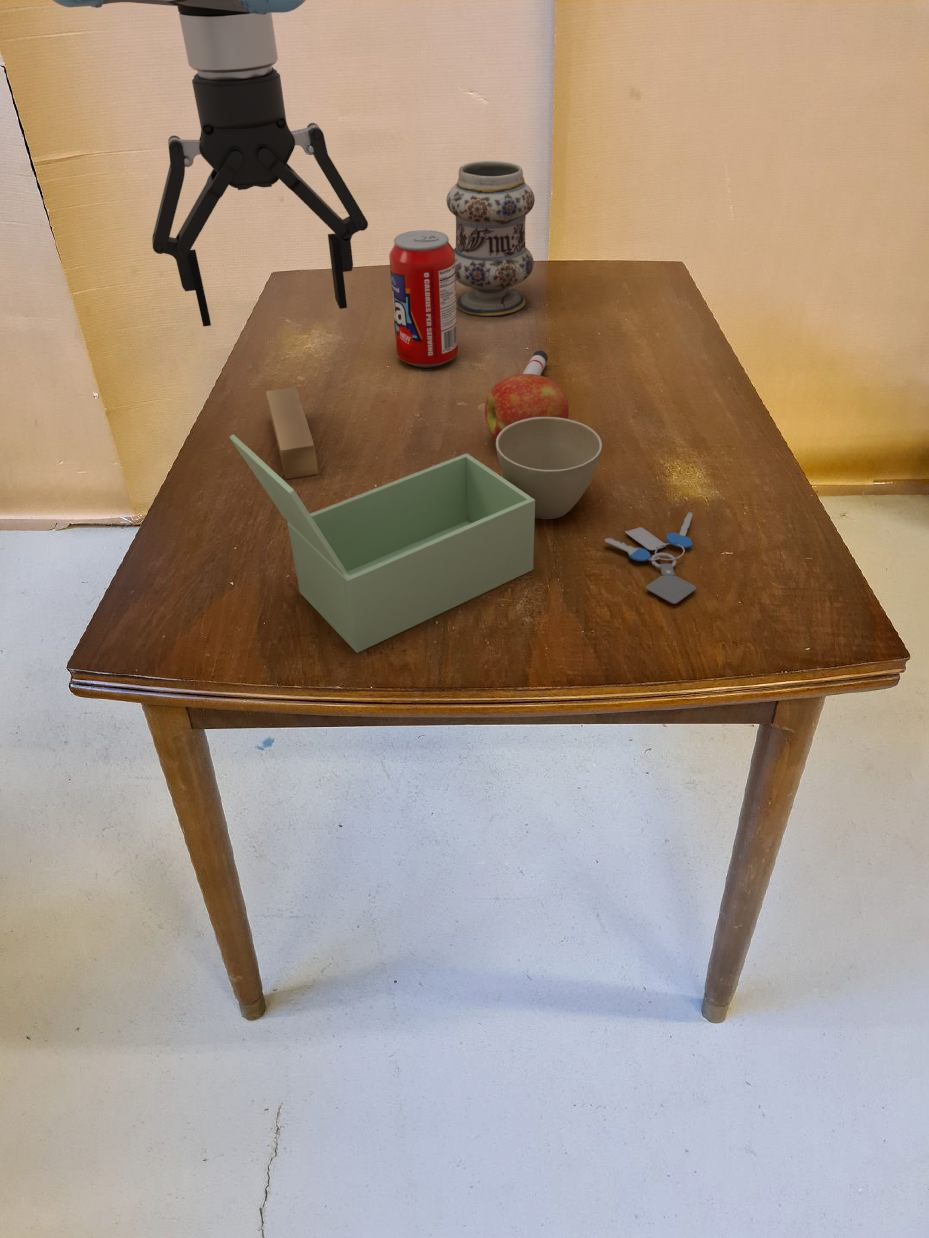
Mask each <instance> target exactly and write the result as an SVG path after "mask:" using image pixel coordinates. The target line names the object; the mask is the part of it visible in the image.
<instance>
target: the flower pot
mask: <svg viewBox="0 0 929 1238" xmlns="http://www.w3.org/2000/svg"><path fill="white" fill-rule="evenodd" d="M602 449H603V442H602V439H601V437H600V435H599V434H598V433H597V432H596V431H595V430H594V429H593V428H591V427H590V426H588V425H586V424H584V423H581V422H580V421H576V420H573V419H569V418H568V419H565V418H558V417H535V418H528V419H524V420H520V421H517V422H515V423H512V424H510V425H509V426H507V427H505V428H504V429H503V430H502V431H501V432H500V433H499V434H498V436H497V438H496V440H495V450H496V457H497V461H498V465H499V470H500V472H501V476H502V477H503V478H504V479H505V480H507V481H508V482H510V483H511V484H513V485H514V486H516V487H517V488H519V489H520V490H521V491H523V492H524V493H526V494H527V495H529V496H530V497H531V498H533V499H535V519H538V520H539V519H540V520H553V519H558V518H561V517H564V516H565V515H567V514H568V513H569V512H571V510H572V509H573V508H574V507H575V505H576V504H577V503H578V502H579V501H580V500H581V498H582V496H583V495H584V494H585V491H586V490H587V488H588V487H589V485H590V483H591V481H592V479H593V478H594V474H595V472H596V471H597V467H598V464H599V461H600V458H601V455H602Z"/></svg>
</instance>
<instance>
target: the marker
mask: <svg viewBox="0 0 929 1238" xmlns="http://www.w3.org/2000/svg"><path fill="white" fill-rule="evenodd" d="M548 359H549V357H548V354H547V353H546V352H545V350H541V349H540V350H536V351H535V352H533V355H532V357H530V359H529V360H528V363H527V365H526V367H525V368H524V371H523V372H522V374H536V375H540V376H542V373H543V371H544V369H545V367H546V364H547V363H548V361H549V360H548Z"/></svg>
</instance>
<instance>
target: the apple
mask: <svg viewBox="0 0 929 1238" xmlns="http://www.w3.org/2000/svg"><path fill="white" fill-rule="evenodd" d="M569 411H570V410H569V401H568V398H567V396H566V394H565V392H564V390H563V388H562V387H561V386H560V385H559V384H558V383H556V382H555V381H553V380H552V379H550V378H548V377H546V376H543V375H536V374H523V373H521V374H514V375H511V376H508V377H504V378H503V379H501V380H500V381H498V382H497V383H496V384H495V385H493V387H492V388H491V389H490V391H488V395H487V397H486V401H485V404H484V416H485V422H486V425H487V427H488V430H489V432H490V434H491V436H492V437H493V439H494V440H495V441H496V438H497V436H498V434H499V433H500V432H501V431H502V430H503V429H504V428H505V427H507V426H509V425H510V424H512V423H515V422H517V421H520V420H524V419H528V418H535V417H558V418H565V419H569Z"/></svg>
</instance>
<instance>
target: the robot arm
mask: <svg viewBox="0 0 929 1238" xmlns="http://www.w3.org/2000/svg"><path fill="white" fill-rule="evenodd" d="M52 1H53V2H54V3H56V4H58V5H60V6H62V7H66V8H81V7H82V8H83V7H91V8H95V9H100V8H102V7H103V5H108V4H117V3H130V4H131V3H134V4H143V5H144V4H146V5H158V6H169V7H170V6H171V7H177V11H178V12H179V13H178V17H179V22H180V25H181V31H182V37H183V43H184V47H185V52H186V57H187V63H188V66H189V67H190V68H191V69H192V70H193V71H197V73H196V74H194V75H193V79H191V83H192V89H193V93H194V100H195V104H196V110H197V114H198V119H199V126H200V136H199V139H185V138H184V139H183V138H181V137H179V136H178V135H171V136H170V137H168V140H167V145H168V154H169V162H170V163H169V167H168V171H167V176H166V179H165V184H164V187H163V190H162V191H163V192H162V196H161V200H160V203H159V208H158V212H157V215H156V216H157V217H156V221H155V225H154V228H153V233H152V239H151V241H152V242H151V243H152V244H151V245H152V249H153V252H155V254H158V255H162V254H165V255H169V256H171V257H173V259H175V262H176V266H177V270H178V271H177V272H178V275H179V279H180V284H181V287H182V288H183V290H184V291H185V292H192V291H195V295H196V300H197V305H198V309H199V313H200V317H201V322H202V327H203V328H204V327H210V326H212V324H211V317H210V312H209V307H208V302H207V298H206V294H205V288H204V284H203V280H202V275H201V270H200V265H199V260H198V255H197V250H196V249H192V247H193V246H194V244H195V242H196V241H197V239H198V237H199V236H200V234H201V232H202V230H203V228H204V227H205V225H206V224H207V221H208V220H209V218H210V216H211V214H212V213H213V211H214V209H215V208H216V206H217V204H218V202H219V200H220V199H221V198H222V197H223V195H224V194H225V192H226V191H227V189H228V187H229V186H230V187H231V188H234V189H237V191H243V190H244V191H245V190H248V189H251V188H253V187H258V188H272V187H273V185H274V184H276V183H277V182H278V181H279V180H280V181H281V182H282V184H284V185H285V186H286V187H287V188H288V189H289V190H290V191H291V192H292V193H294V194H295V195H296V196H297V197H298V198H299V199H300V200H301V202H302V203H304V205H306V206H307V207H308V208H309V209H310V210H311V211H312V212H313V213H314V214H315V215H316V216H317V217H318V218H319V219H320V220H321V221H322V223H324V224H325V226H327V227H328V229H330V230H331V231H332V232H333V233H327V241H328V248H329V258H330V266H331V274H332V275H331V276H332V282H333V288H334V289H333V290H334V299H335V302H336V304H337V306H338V308H339V309H340V310H342V309H348V303H347V295H346V286H345V285H346V284H345V277H344V273H347V272H352V271H353V268H354V261H353V251H352V242H351V241H352V237H353V235H355V234H356V233H359V232H364V231H366V230H367V229H368V227H369V222H368V220H367V218H366V216H365V214H364V213H363V211H362V209H361V208H360V206H359V205H358V202H357V201H356V199H355V198H354V196H353V195H352V193H351V191H350V188H348V185H347V184H346V183H345V181H344V179H343V177H342V175H341V174H340V172H339V170H338V169H337V167H336V165H335V163H334V162H333V160H332V158H331V157H330V156H329V154H328V148H327V144H326V139H325V135H324V132H323V130H322V129H321V128H320V126H319V125H318V124H317V123H315V122H310V123H309V124H308V125H307V126H306V127H304V128H300V129H295V130H290V128H289V125H288V122H287V116H286V108H285V102H284V94H283V88H282V87H283V86H282V79H281V74H280V73H279V72H278V70H277V69H275V68H274V65H275V64H276V63H277V62H278V60H279V57H278V49H277V43H276V35H275V29H274V28H275V27H274V21H273V14H274V13H277V14H278V13H281V14H282V13H289V12H292V11H294V10H296V9H298V8H299V7H301V6H302V5H303V4H305V2H306V0H52ZM296 146H300V147H301V148H302V151H303V152H304V153H305V154H306V155H308V156H313V158H314V159H315V161H316V163H317V164H318V167H319V168H320V170H321V171H322V173H323V175H324V176H325V178H326V180H327V181H328V183H329V184H330V186H331V188H332V189H333V191H334V193H335V195H336V196H337V198H338V200H339V201H340V202H341V204H342V206H343V208H344V209H345V211H346V213H347V214H348V216H346V217H345V218H342V217H340V215H338V214H337V212H336V211H335V210H334V209H333V208H332V207H331V206H330V205H329V204H328V203H326V201H325V200H324V199H323V198H322V197H321V196H320V195H319V194H318V193H317V192H316V191H315V190H314V189H313V188H311V186H310V185H309V184H308V183H307V182H306V181H305V180H304V179H303V178H302V177H301V176H300V175H299V174H298V173H297V172H296V170H294V169H293V167H291V165H290V164H289V160H290V158H291V156H292V154H293V152H294V150H295V148H296ZM199 155H200V156H201V157H202V158H203V160H204V161H206V163H208V165H209V166H210V167H211V168H212V170H211V172H210V173H209V175H208V177H207V179H206V182H205V184H204V186H203V188H202V190H201V191H200V193H199V195H198V197H197V199H196V200H195V202H194V204H193V206H192V208H191V209H190V211H189V213H188V215H187V216H186V218H185V220H184V222H183V224H182V226H181V227H180V228H179V231H178V232H177V234H176V236H175V237H172V236H171V233H172V228H173V224H174V220H175V216H176V212H177V208H178V204H179V201H180V197H181V193H182V188H183V184H184V182H185V181H184V180H185V175H186V168H190V167H192V166H193V164H194V159H195V158H196V156H199Z"/></svg>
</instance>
